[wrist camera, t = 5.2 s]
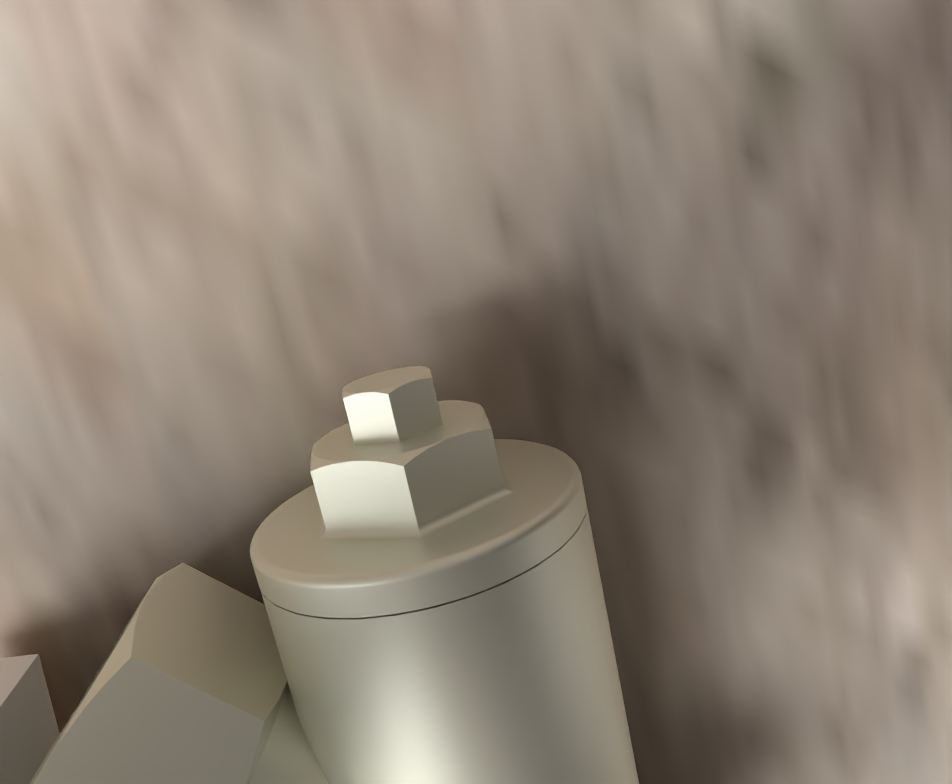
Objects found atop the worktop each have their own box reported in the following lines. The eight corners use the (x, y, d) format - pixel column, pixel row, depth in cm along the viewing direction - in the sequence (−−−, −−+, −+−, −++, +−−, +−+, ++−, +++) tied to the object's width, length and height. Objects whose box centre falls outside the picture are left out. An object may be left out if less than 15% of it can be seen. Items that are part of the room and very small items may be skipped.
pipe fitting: (335, 286, 9) (55, 741, 10) (310, 337, 6) (-132, 1051, 6) (843, 601, 11) (569, 970, 12) (1081, 802, 7) (658, 1319, 8)
